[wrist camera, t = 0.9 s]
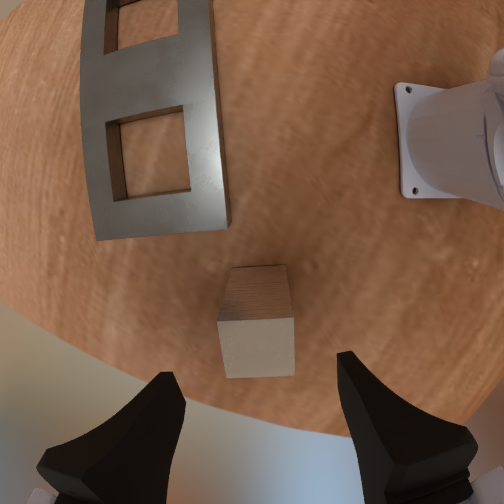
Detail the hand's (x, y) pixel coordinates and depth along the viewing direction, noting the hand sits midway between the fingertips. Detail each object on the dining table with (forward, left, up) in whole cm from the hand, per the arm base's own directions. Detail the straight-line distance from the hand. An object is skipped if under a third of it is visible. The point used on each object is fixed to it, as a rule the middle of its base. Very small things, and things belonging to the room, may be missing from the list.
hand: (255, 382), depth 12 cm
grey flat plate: (+6, -15, -9) cm, 19 cm away
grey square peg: (0, 0, -9) cm, 9 cm away
